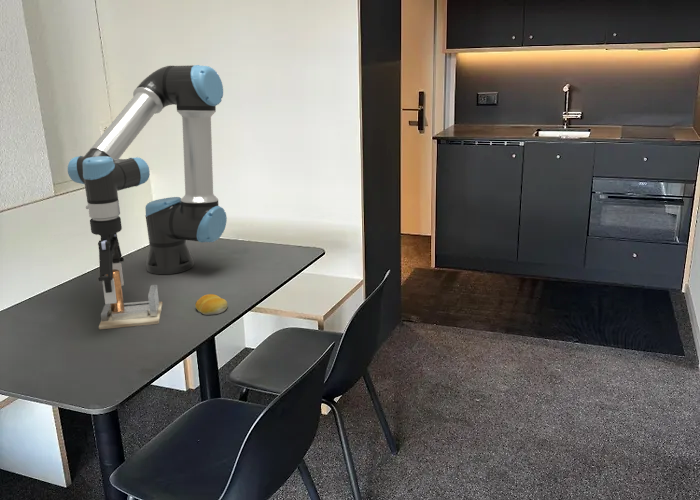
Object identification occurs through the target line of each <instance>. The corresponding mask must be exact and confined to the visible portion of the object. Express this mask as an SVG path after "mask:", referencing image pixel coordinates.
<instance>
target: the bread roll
mask: <svg viewBox="0 0 700 500" xmlns="http://www.w3.org/2000/svg"><path fill="white" fill-rule="evenodd" d="M227 308H228V301H227V300H226V299H224V298H222V297H220V296H219V295H217V294H215V293H214V294H213V293H208V294H205V295H202V296H201V297H200V298H199V299H197V300H196V302H195V309H196V310H197V311H198V312H199V313H201V314H203V315H206V316H210V315H212V316H213V315H218V314H222V313H224V312H225V311H226V310H227Z"/></svg>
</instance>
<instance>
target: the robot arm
mask: <svg viewBox="0 0 700 500" xmlns="http://www.w3.org/2000/svg"><path fill="white" fill-rule="evenodd" d="M223 96H224V86H223V82H222V79H221V77H220V75H219V74H218V72H217V71H216V69H215V68H213V67H211V66H208V65H200V64H196V65H195V64H194V65H193V64H191V65H165V66H163V67H160V68H158V69H156V70H155V71H153V72H152V73H151V74H149V75H148V76H146V78H144V79H143V80H142V81H141V82H140V83H139V84H138V86H137V87H136V88H135V89H134V90H133V96H132V98H131V100H130V101H129V102H128V103H127V104H126V105H125V107H124V108H123V109H122V110H121V112H119V114H118V115H117V116H116V118H115V119H114V120H113V121H112V122H111V124H109V126H108V127H107V129H105V131H104V132H103V133H102V134H101V135H100V137H99V138H98V139H97V140H96V141H95V143H94V144H93V145H92V147H90V149H89V150H88V151H87V152H86V154H85V155H84V156H83V155H80V156H75V157H73V158H71V159H70V161H68V163H67V164H68V165H67V175H68V177H69V178H70V180H71V181H73V182H74V183H76V184H81V185H84V188H85V189H84V190H85V195H86V201H87V202H86V203H87V205H85V209H86V210H88V215H89V216H88V217H89V218H90V220H89V226H90V231H91V234H93V235H96V236H97V235H98V236H99V237H100V239H99V240H98V243H97V246H98V257H99V259H98V260H99V261H98V262H99V277H98V281H99V282H102V289H103V296H104V303H105V304H112V303H117V300H116V292H115V285H114V278H113V277H112V270H113V269H117V270H119V272H120V279H121V287H122V286H124V285H125V282H124V275H123V273H124V272H123V269H122V266H123V265H122V262H125V260H124V257H123V254H122V253H121V247H120V242H119V239H118V233H120V232H121V231H122V229H123V227H122V226H123V225H122V220H121V217H120V215H121V209H120V208H121V207H120V201H119V194H118V191H122V190H127V189H130V188H134V187H139V186H140V185H143V184H145V183H146V182H147V181H148V180H149V178H150V175H151V174H150V167H149V164H148V163H147V161H145V160H144V159H143V158H141V157H138V156H137V157H128V158H125V159H124V158H121V157H122V156H123V154H124V153H125V152H126V150H128V148H129V147H130V145H131V144H132V143H133V142H134V141H135V139H136V138H137V137H138V135H139V134H140V133H141V131H143V129H144V128H145V126H146V125H147V124H148V123H149V122H150V120H151V119H152V117H153V116H155V115H154V114H160V112H162V111H163V109H164V108H165V107H168V106H171V105H175V106H176V112H177V113H178V114H179V115H180V116H181V119H182V121H181V122H182V142H183V143H182V144H183V167H184V169H183V171H184V193H185V194H184V196H182V197H179V196H171V197H163V198H158V199H155V200H151V201H149V202H148V203H147V204H146V205H145V206H144V207H145V215H144V216H145V221H146V222H145V223H146V229H147V235H148V244H149V249H148V253H147V257H146V261H145V266H146V271H147V272H148V273H150V274H153V275H154V274H155V275H174V274H179V273H183V272H186V271H188V270H190V269H191V268H193V267H194V265H195V264H194V258H193V255H192V253H191V251H190V249H189V247H188V245H187V242H186V241H193V242H199V243H214V242H216V241H218V240H219V239H220V238H221V237H222V236H223V233H224V232H225V229H226V226H227V219H228V218H227V213H226V211H225V209H224V208H223V207H222V206H220V205H219V199H218V197H217V196H216V195H215V194H214V175H213V146H212V145H213V144H212V139H213V137H212V116H213V115H214V114H215V113H216V111H217V110H216V109H217V108H216V106H218V105H220V104H221V102H222V99H223ZM105 304H104V305H105Z"/></svg>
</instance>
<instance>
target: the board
mask: <svg viewBox="0 0 700 500" xmlns="http://www.w3.org/2000/svg"><path fill="white" fill-rule="evenodd" d="M162 309H163V301H159V308H158V313H157V316H151V315H150V314H148V317H145V318H134V319H124V320H113V319H112V313H113V312H111V315H110V317H109V320H108V321H102V320H100V323H99V325H98V330H106V329H107V330H110V329H117V328H129V327H139V326H140V327H141V326H150V325H159V324H160V320H161V314H162Z"/></svg>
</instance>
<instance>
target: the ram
mask: <svg viewBox="0 0 700 500" xmlns="http://www.w3.org/2000/svg"><path fill="white" fill-rule="evenodd" d="M112 277H113V278H114V285H115V292H116V300H117V303H112V304H110V305H111V311H112V312H124V311H135V310H146V309H147V310H148V314H150V315H151V316H157V313H158V308H159V302H160V299H159V293H158V284H151V285H150V287H149V291H148V294H147V298H148V301H149V304H146V305H134V306H124V303H125V302H124V295H123V288H122V286H121V279H120V272H119V270H117V269H113V270H112Z"/></svg>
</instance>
